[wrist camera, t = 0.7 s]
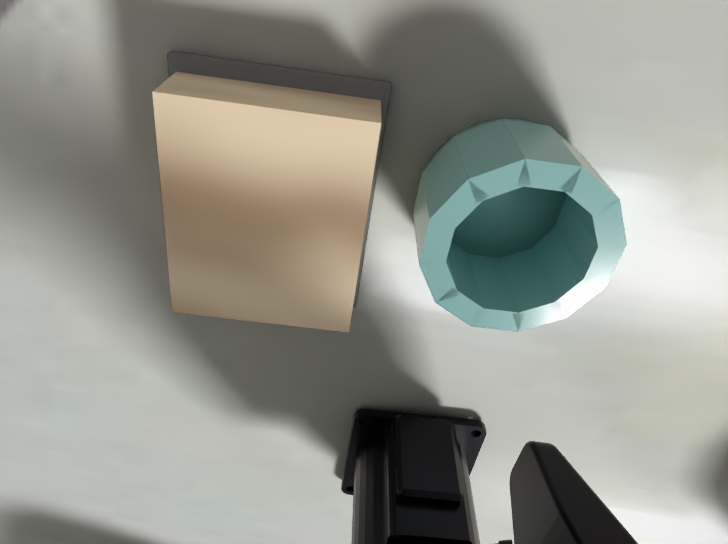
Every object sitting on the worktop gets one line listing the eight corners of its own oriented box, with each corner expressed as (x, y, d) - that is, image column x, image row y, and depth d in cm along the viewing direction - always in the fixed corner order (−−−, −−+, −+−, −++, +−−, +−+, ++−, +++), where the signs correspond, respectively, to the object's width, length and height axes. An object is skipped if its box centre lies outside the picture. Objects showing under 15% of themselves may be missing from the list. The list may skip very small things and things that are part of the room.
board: (351, 296, 22) (348, 332, 20) (189, 277, 21) (172, 312, 19) (380, 100, 17) (381, 123, 15) (176, 71, 17) (152, 91, 15)
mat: (356, 301, 22) (355, 307, 22) (187, 281, 22) (184, 287, 22) (390, 82, 17) (390, 85, 17) (170, 50, 17) (167, 54, 16)
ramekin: (549, 272, 21) (580, 339, 18) (401, 254, 21) (406, 318, 18) (607, 127, 18) (659, 176, 15) (433, 102, 18) (446, 148, 14)
